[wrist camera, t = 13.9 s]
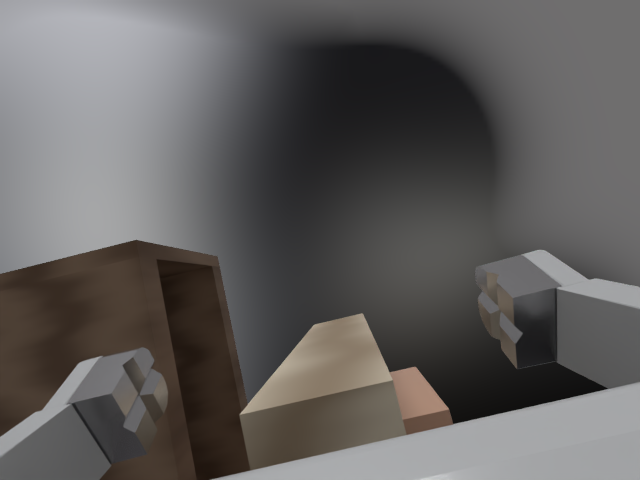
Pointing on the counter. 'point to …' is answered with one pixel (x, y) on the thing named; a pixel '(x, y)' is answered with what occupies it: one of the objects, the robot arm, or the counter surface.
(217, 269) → the wooden open box
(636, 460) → the robot arm
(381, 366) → the bar
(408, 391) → the pedestal
